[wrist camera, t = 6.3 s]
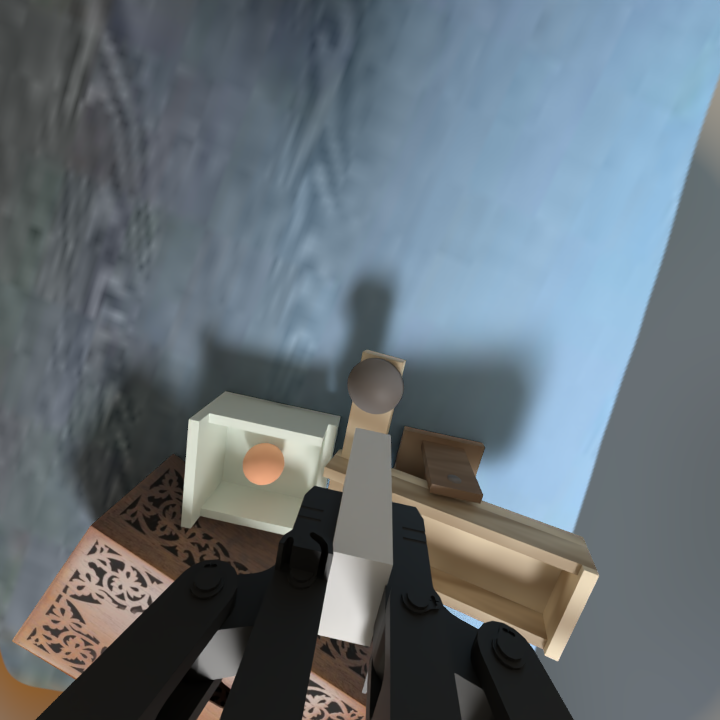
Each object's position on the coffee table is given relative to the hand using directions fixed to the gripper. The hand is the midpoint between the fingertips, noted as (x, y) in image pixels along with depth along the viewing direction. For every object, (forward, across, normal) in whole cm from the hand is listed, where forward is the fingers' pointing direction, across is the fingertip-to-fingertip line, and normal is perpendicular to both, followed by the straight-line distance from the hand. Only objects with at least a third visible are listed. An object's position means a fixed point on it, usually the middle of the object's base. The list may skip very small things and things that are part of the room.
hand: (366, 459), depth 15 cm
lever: (+10, +7, -6) cm, 14 cm away
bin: (+15, -7, -10) cm, 20 cm away
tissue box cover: (+16, -9, -25) cm, 31 cm away
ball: (+13, -8, -10) cm, 18 cm away
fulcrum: (+15, +7, -10) cm, 20 cm away
